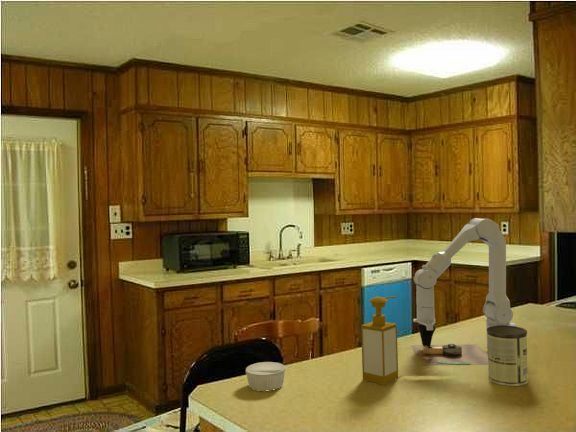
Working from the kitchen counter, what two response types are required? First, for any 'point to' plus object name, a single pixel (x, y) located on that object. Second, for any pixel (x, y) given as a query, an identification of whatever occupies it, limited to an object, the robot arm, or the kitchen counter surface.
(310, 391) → the kitchen counter surface
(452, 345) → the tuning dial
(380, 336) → the soap bottle
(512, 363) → the coffee can
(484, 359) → the brown flat square slab
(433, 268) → the robot arm
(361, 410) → the kitchen counter surface
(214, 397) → the kitchen counter surface
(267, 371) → the ramekin
